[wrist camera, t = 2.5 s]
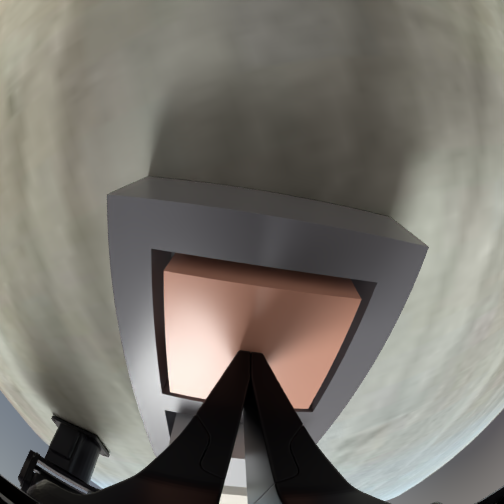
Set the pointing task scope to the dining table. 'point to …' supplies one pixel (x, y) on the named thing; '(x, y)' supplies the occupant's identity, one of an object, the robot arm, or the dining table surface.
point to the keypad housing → (256, 253)
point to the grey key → (237, 462)
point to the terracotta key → (253, 323)
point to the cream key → (233, 495)
